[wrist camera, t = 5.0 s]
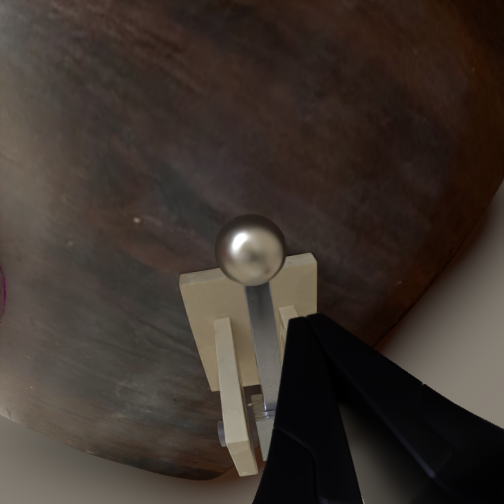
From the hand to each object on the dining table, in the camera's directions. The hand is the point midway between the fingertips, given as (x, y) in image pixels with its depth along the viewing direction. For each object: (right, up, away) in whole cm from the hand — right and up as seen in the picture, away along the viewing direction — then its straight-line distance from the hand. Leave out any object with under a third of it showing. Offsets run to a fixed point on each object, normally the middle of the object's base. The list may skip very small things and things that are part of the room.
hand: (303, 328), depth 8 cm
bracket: (-1, -3, +14) cm, 14 cm away
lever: (-1, -2, +8) cm, 8 cm away
